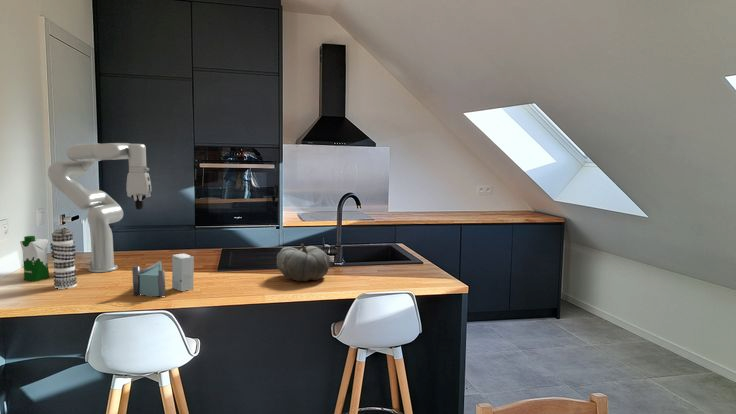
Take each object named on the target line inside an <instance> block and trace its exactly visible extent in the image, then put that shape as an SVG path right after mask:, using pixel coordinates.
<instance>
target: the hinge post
mask: <svg viewBox="0 0 736 414" xmlns="http://www.w3.org/2000/svg"><path fill="white" fill-rule="evenodd" d="M131 270H132V273H131V274H132V291H133V292H132V293H133V296H134V295H140V271H141V267H140V266H139V265H133V266H132V268H131ZM140 296H141V295H140Z"/></svg>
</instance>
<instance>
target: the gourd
mask: <svg viewBox="0 0 736 414" xmlns="http://www.w3.org/2000/svg"><path fill="white" fill-rule="evenodd" d="M300 246H301V248H300V249H298V248H294V247H292V246H287V247H286V246H285V247H283V248H281V250H280V251H279V252H278V253H277V255H276V267H277V270H279V272H280V273H281V274H282V275H283V276H285V277H286V278H288V279H290V280H294V281H297V282H307V281H309V280H310V281H317V280H321V279H322V278H323V277H325V276H326V275H327V273H328V271H329V269H330V265H331V263H330V262H331V260H330V257H329V255H328V254H327V253H326V252H325V251H324V250H323V249H321V248H320V247H318V246H313V245H309V246H306V247H305V245H304V243H300Z"/></svg>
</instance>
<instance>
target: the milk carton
mask: <svg viewBox="0 0 736 414" xmlns="http://www.w3.org/2000/svg"><path fill="white" fill-rule="evenodd" d="M23 239H24V240H20V241H19V244H20V246H21V250H22V258H23V280H24V281H28V282H39V281H42V280H46V279H50V278H51V277H50V272H49V263H48V244H49V243H48V242H49V239H44V238H37V237H36V236H35V235H27V236H24V237H23Z"/></svg>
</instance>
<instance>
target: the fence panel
mask: <svg viewBox="0 0 736 414" xmlns="http://www.w3.org/2000/svg"><path fill="white" fill-rule="evenodd" d="M140 294H141V295H146V296H145V297H152V296H160V297H162V296H166V272H165V269H162V270H159V271H158V275H154V274H140ZM141 295H140V296H141ZM160 297H159V298H160Z"/></svg>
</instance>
